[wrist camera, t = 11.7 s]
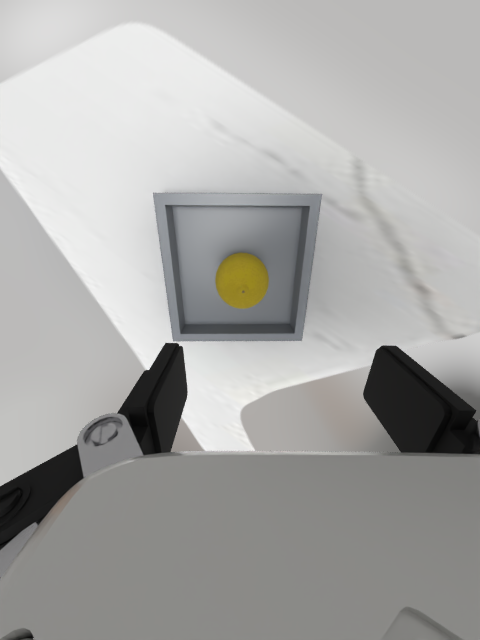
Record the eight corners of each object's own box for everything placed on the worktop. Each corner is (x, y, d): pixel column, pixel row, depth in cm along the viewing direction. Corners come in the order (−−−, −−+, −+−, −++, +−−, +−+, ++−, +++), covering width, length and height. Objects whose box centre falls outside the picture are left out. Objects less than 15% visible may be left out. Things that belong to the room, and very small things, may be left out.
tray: (310, 197, 24) (321, 194, 21) (295, 328, 31) (301, 340, 28) (163, 196, 24) (152, 192, 21) (179, 328, 31) (173, 341, 28)
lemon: (228, 300, 28) (225, 328, 21) (211, 258, 26) (201, 273, 19) (270, 285, 28) (282, 308, 20) (255, 241, 25) (263, 249, 18)
